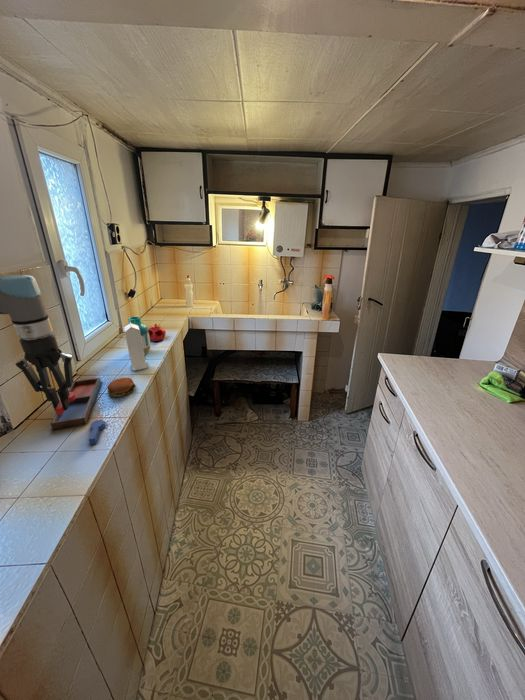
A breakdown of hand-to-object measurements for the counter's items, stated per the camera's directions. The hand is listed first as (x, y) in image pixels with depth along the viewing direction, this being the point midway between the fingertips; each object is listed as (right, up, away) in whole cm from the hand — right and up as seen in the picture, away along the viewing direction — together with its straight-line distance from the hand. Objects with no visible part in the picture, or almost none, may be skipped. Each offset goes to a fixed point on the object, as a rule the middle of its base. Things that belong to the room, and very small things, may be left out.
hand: (62, 407), depth 85 cm
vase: (-2, +15, +59) cm, 61 cm away
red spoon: (-1, 0, +2) cm, 2 cm away
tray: (-7, -2, +20) cm, 21 cm away
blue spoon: (+7, -9, +5) cm, 13 cm away
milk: (+3, +9, +46) cm, 47 cm away
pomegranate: (0, +23, +76) cm, 80 cm away
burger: (+5, +1, +27) cm, 28 cm away
